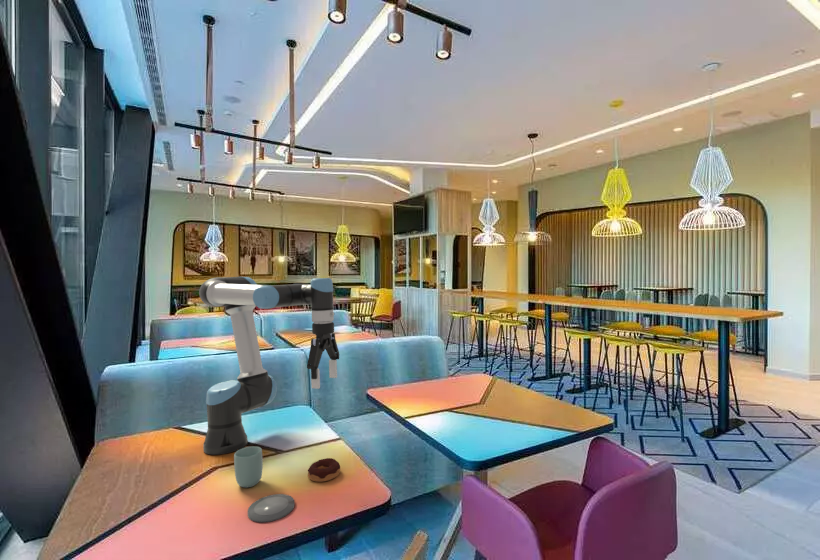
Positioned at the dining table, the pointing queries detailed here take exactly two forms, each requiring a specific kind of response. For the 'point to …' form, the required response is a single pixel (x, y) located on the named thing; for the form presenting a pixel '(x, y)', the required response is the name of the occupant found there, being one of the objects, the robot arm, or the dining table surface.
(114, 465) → the dining table surface
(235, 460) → the cup
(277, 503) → the disc
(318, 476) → the donut
